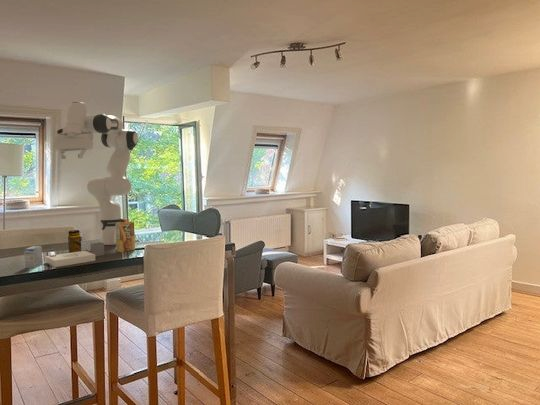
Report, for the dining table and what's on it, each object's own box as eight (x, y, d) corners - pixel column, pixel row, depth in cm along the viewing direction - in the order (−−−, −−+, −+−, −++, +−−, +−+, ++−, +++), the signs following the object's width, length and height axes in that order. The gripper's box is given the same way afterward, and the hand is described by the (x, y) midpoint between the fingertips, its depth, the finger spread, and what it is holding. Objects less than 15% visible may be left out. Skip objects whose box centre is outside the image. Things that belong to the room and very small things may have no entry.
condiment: (83, 253, 223) (82, 230, 222) (65, 255, 219) (64, 232, 218) (80, 251, 229) (79, 229, 228) (63, 253, 225) (62, 230, 224)
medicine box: (33, 264, 199) (31, 246, 198) (43, 264, 199) (41, 245, 199) (24, 268, 191) (23, 249, 190) (35, 268, 191) (34, 248, 191)
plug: (100, 253, 221) (100, 241, 221) (104, 255, 217) (103, 243, 217) (91, 255, 218) (90, 243, 217) (94, 256, 214) (94, 244, 214)
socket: (85, 256, 214) (84, 249, 214) (95, 260, 204) (95, 253, 204) (45, 262, 202) (45, 255, 202) (55, 267, 192) (54, 259, 192)
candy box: (131, 248, 232) (129, 221, 231) (135, 249, 230) (134, 221, 229) (116, 251, 226) (114, 222, 224) (121, 252, 223) (119, 223, 222)
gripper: (97, 133, 215) (94, 159, 212) (61, 135, 219) (57, 161, 216) (89, 128, 209) (86, 155, 206) (52, 131, 213) (49, 157, 210)
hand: (71, 158), depth 211 cm, fingers open, 8 cm apart
